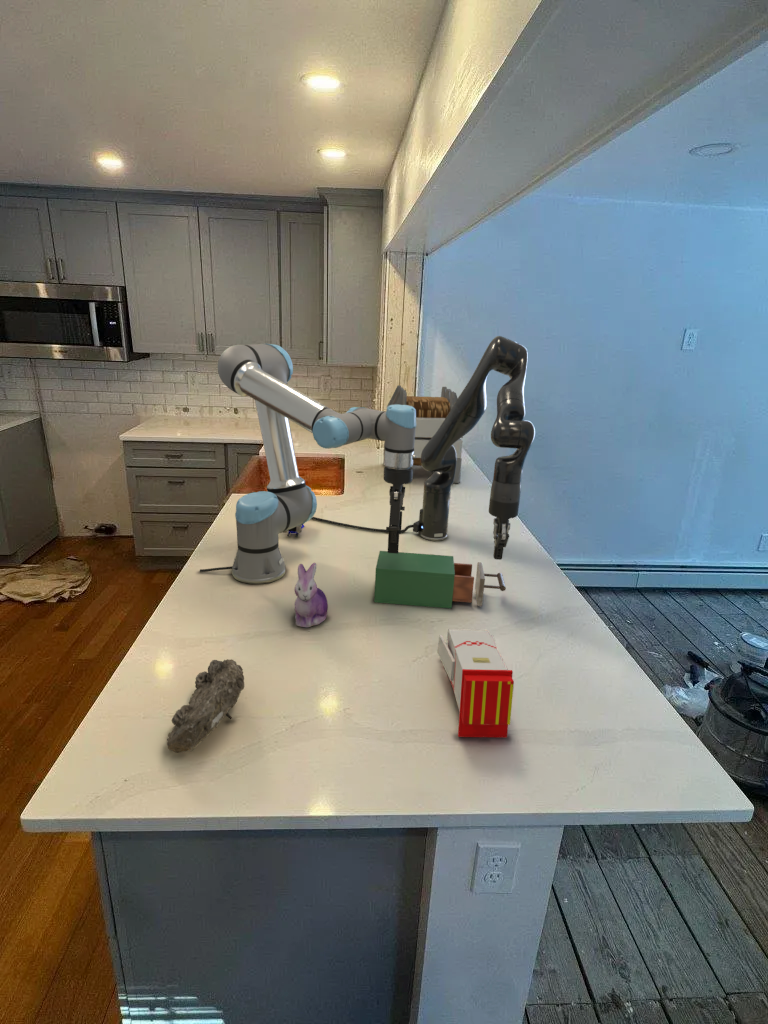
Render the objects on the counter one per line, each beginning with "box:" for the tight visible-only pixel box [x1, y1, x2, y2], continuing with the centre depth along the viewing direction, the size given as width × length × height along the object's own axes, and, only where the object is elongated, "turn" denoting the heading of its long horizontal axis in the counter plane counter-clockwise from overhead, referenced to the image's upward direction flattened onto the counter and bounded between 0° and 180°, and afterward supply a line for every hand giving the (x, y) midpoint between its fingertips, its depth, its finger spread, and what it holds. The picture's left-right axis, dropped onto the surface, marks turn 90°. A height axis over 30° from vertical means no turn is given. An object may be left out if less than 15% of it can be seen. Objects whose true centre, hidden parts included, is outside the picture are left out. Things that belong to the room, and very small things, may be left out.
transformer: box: [383, 384, 464, 484], centre depth 268 cm, size 34×33×41 cm
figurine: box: [293, 562, 329, 628], centre depth 140 cm, size 9×10×15 cm
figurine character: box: [282, 524, 305, 538], centre depth 196 cm, size 7×8×15 cm
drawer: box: [452, 561, 507, 607], centre depth 155 cm, size 25×10×8 cm, turn 85°
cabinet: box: [373, 550, 455, 609], centre depth 156 cm, size 21×12×10 cm, turn 85°
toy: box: [437, 628, 515, 738], centre depth 117 cm, size 12×13×30 cm
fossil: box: [166, 658, 245, 754], centre depth 106 cm, size 22×10×15 cm
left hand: (394, 542), depth 153 cm, fingers open, 13 cm apart
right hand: (497, 558), depth 152 cm, fingers closed
